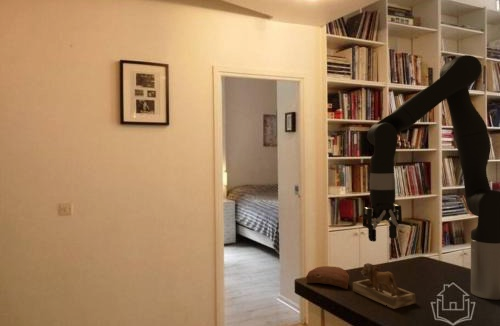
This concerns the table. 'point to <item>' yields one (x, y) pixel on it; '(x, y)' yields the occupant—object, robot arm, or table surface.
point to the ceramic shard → (329, 276)
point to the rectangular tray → (384, 294)
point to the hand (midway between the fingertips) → (382, 239)
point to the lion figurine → (380, 278)
